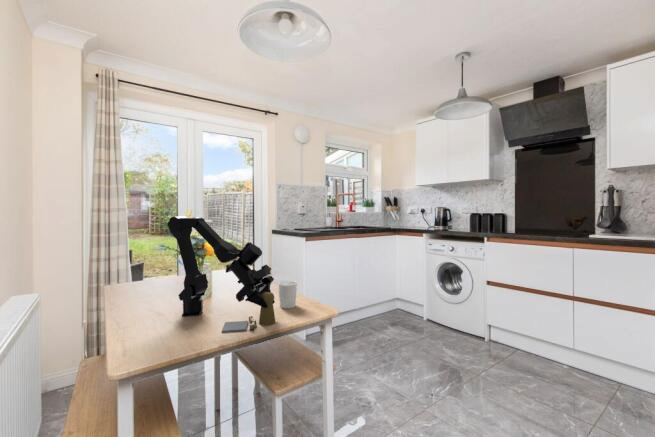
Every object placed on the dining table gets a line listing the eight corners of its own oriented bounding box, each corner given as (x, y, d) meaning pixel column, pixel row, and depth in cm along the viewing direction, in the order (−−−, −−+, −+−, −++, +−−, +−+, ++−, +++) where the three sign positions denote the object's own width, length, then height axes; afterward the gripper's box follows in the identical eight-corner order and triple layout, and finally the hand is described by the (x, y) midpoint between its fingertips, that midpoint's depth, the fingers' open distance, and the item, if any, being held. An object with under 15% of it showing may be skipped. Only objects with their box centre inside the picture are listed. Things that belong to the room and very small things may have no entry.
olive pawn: (276, 319, 114) (276, 290, 114) (274, 325, 108) (274, 295, 108) (260, 319, 114) (260, 290, 114) (257, 325, 108) (257, 295, 108)
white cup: (293, 309, 125) (293, 285, 125) (275, 308, 127) (275, 284, 126) (299, 303, 133) (299, 281, 133) (282, 302, 134) (282, 280, 134)
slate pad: (221, 332, 102) (221, 330, 102) (225, 323, 110) (225, 322, 110) (246, 330, 103) (246, 329, 103) (247, 322, 111) (247, 320, 111)
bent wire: (247, 331, 103) (247, 326, 103) (249, 320, 113) (249, 316, 113) (255, 330, 104) (255, 325, 104) (256, 320, 113) (256, 315, 113)
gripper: (243, 263, 103) (272, 298, 100) (269, 255, 120) (295, 284, 117) (223, 284, 105) (251, 319, 102) (252, 273, 123) (276, 302, 120)
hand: (270, 305), depth 110 cm, fingers closed on olive pawn, 5 cm apart
